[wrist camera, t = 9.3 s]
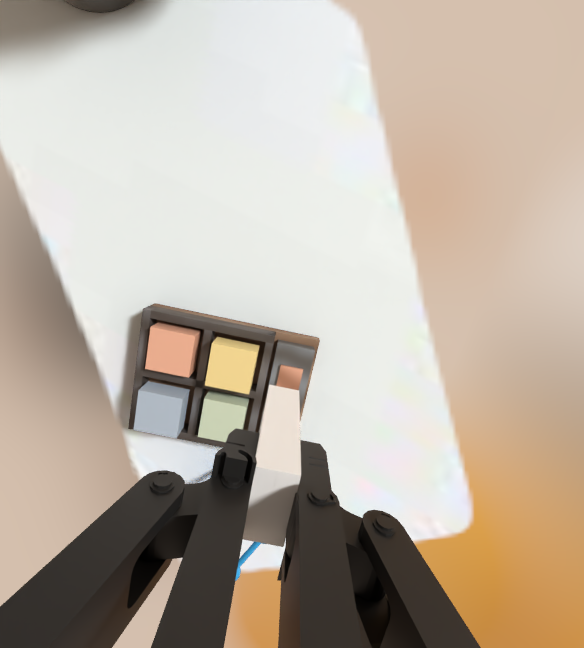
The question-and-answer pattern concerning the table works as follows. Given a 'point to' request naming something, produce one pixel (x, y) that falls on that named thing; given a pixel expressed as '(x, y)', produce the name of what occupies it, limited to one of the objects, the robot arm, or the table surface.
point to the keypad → (271, 367)
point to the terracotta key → (172, 349)
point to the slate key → (161, 409)
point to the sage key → (222, 415)
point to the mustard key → (231, 365)
